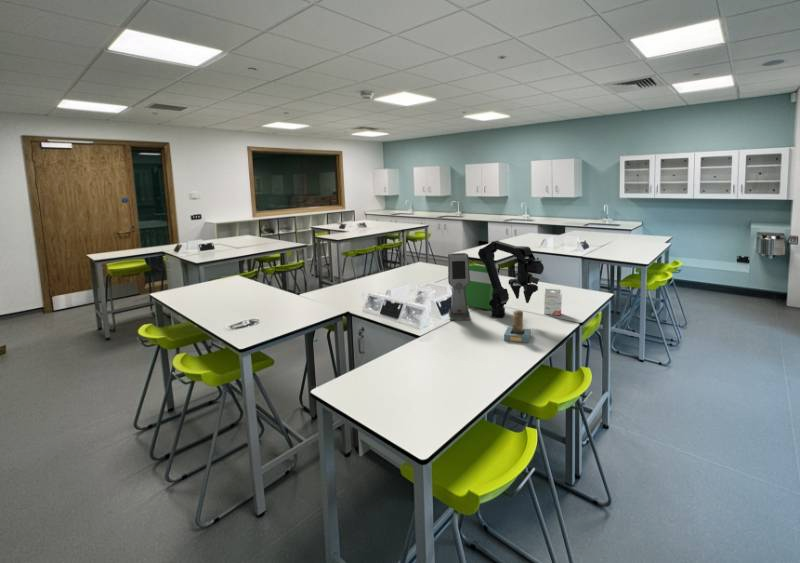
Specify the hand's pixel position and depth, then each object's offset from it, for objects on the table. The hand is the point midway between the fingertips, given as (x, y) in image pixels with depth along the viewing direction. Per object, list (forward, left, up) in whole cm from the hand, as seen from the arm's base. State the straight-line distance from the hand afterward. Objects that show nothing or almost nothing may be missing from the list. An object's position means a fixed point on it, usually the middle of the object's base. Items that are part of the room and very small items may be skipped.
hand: (522, 300), depth 225 cm
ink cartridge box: (+14, +20, -12) cm, 27 cm away
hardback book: (-28, +22, -12) cm, 37 cm away
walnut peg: (+1, -23, -12) cm, 26 cm away
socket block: (+1, -23, -12) cm, 26 cm away
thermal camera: (-34, 0, -12) cm, 36 cm away
